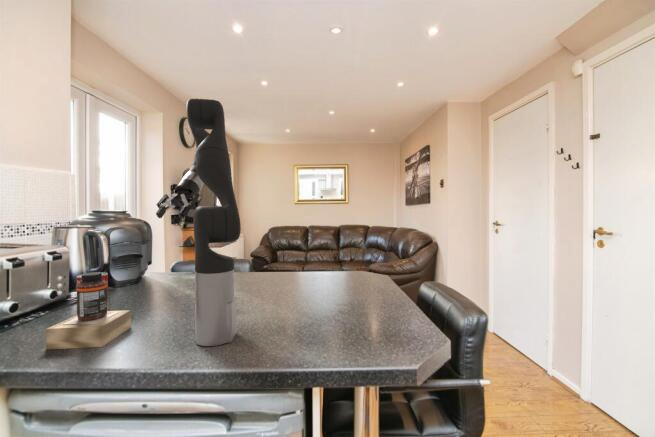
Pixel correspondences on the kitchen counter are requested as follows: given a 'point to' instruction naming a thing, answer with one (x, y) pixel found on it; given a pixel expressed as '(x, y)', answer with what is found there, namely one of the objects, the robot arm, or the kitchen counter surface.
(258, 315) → the kitchen counter surface
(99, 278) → the supplement bottle
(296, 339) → the kitchen counter surface
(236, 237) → the robot arm
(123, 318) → the oak plinth
